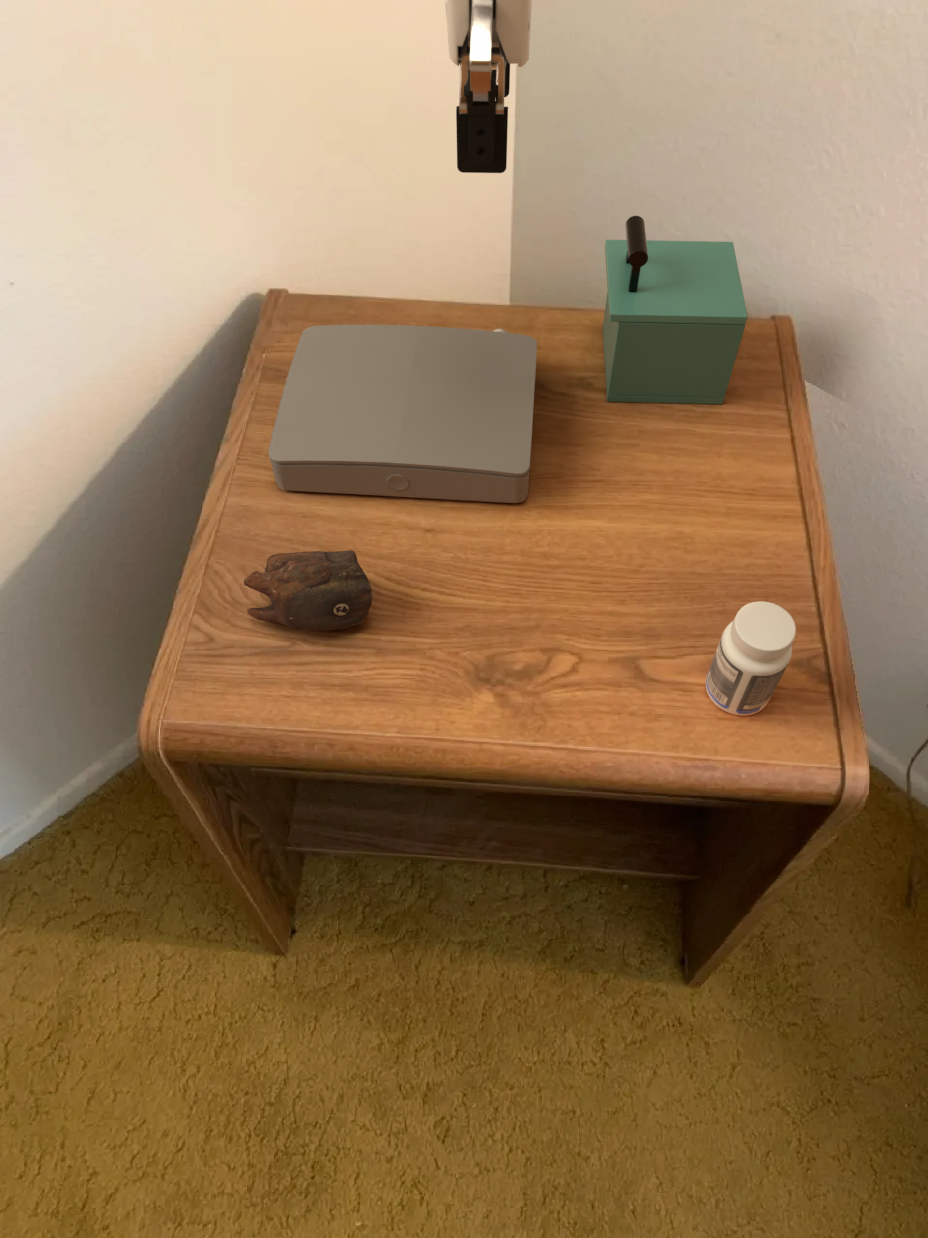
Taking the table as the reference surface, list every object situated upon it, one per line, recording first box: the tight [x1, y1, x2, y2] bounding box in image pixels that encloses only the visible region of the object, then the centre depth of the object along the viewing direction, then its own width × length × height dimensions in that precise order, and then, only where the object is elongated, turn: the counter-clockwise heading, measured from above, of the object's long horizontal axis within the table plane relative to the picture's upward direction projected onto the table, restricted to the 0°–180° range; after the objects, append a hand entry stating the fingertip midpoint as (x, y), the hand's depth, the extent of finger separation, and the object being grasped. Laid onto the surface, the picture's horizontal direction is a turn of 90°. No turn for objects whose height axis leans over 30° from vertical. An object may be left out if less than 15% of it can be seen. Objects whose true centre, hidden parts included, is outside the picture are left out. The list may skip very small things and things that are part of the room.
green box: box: [602, 290, 746, 405], centre depth 84 cm, size 11×11×9 cm
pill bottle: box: [705, 600, 797, 717], centre depth 64 cm, size 5×5×8 cm
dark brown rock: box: [243, 549, 373, 632], centre depth 71 cm, size 6×7×10 cm
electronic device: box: [268, 324, 538, 504], centre depth 82 cm, size 19×22×5 cm
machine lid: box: [604, 215, 749, 325], centre depth 79 cm, size 11×11×5 cm
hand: (484, 131), depth 63 cm, fingers open, 9 cm apart
